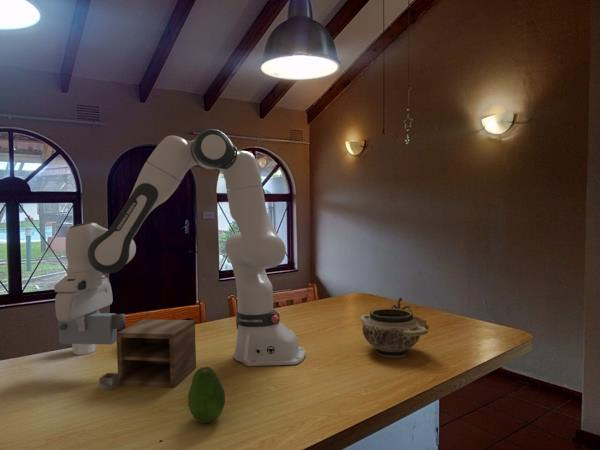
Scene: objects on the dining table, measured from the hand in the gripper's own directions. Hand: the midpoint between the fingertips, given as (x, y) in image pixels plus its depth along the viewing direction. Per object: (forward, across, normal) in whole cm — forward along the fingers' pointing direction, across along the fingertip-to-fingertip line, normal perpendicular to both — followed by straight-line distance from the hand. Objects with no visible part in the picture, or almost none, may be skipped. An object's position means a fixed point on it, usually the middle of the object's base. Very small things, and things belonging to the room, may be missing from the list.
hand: (88, 328), depth 123 cm
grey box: (+4, +1, +2) cm, 4 cm away
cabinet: (+13, +1, +19) cm, 23 cm away
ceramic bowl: (+15, -27, +85) cm, 91 cm away
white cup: (+13, -17, -15) cm, 26 cm away
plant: (+16, -57, +90) cm, 108 cm away
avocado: (+14, +22, +44) cm, 51 cm away
